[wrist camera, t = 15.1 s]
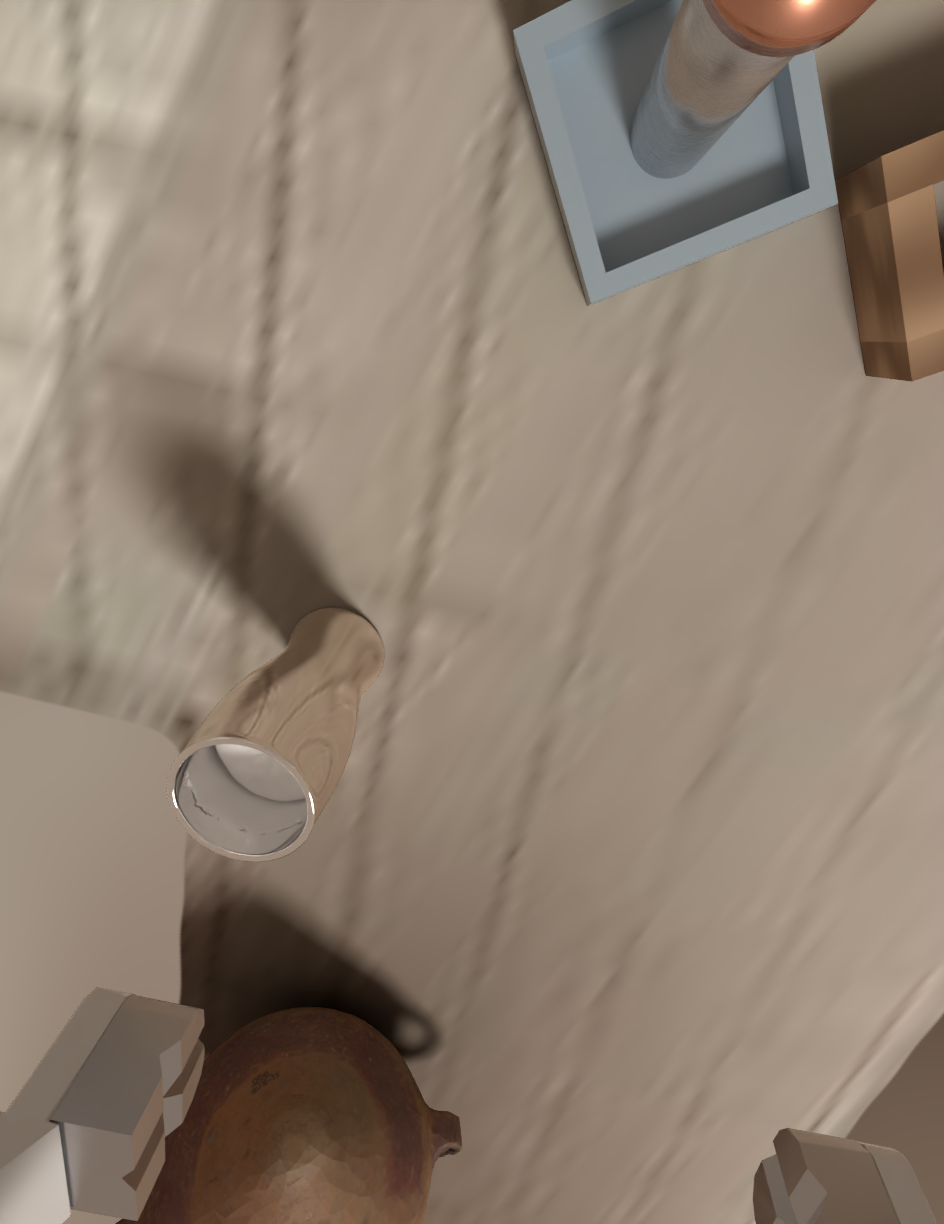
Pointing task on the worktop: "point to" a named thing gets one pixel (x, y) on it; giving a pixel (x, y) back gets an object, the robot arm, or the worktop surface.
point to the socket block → (897, 259)
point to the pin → (723, 71)
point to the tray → (612, 179)
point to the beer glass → (278, 741)
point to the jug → (302, 1130)
